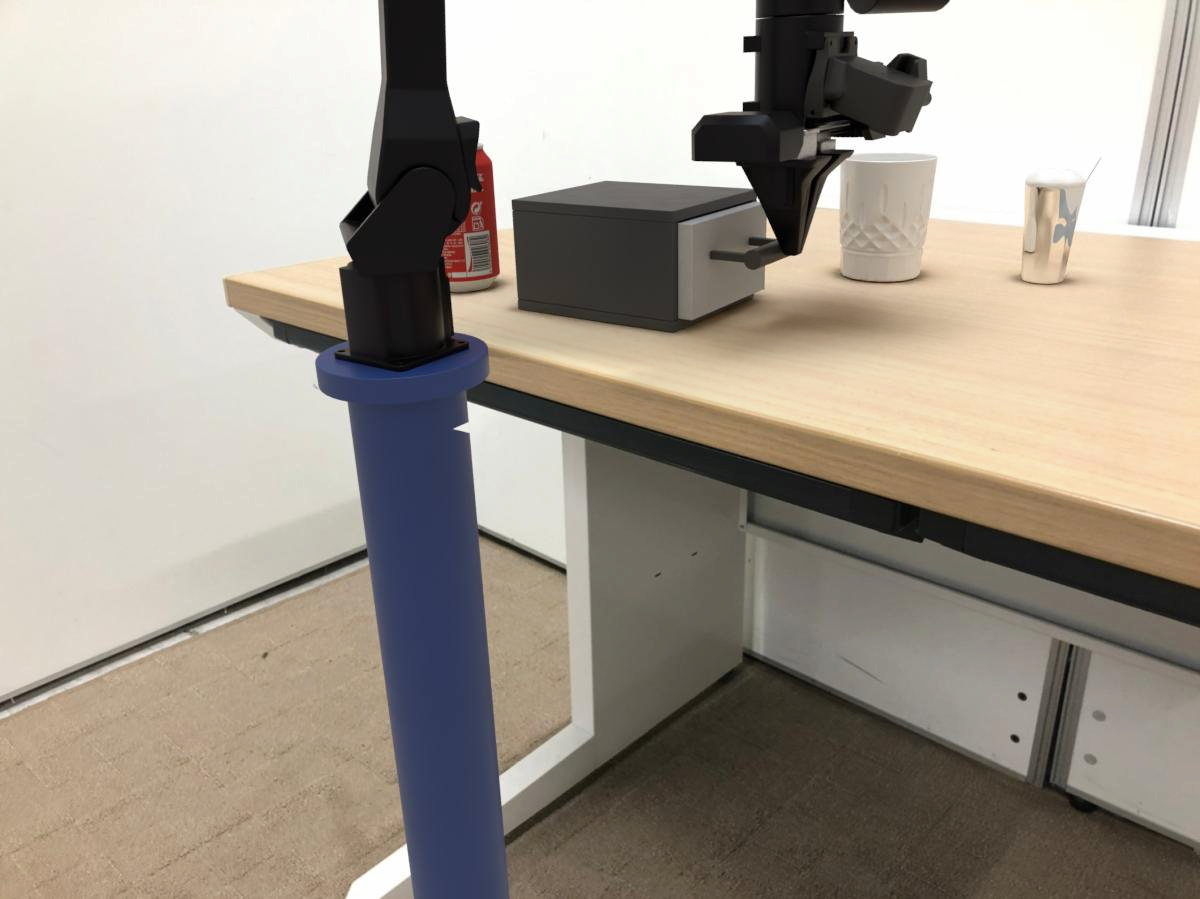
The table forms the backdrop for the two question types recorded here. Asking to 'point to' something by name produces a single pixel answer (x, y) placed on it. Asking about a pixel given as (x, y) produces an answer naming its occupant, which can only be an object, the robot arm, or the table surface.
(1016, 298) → the table surface
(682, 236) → the drawer
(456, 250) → the beverage can
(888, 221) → the white cup
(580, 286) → the cabinet
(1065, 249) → the milkshake
